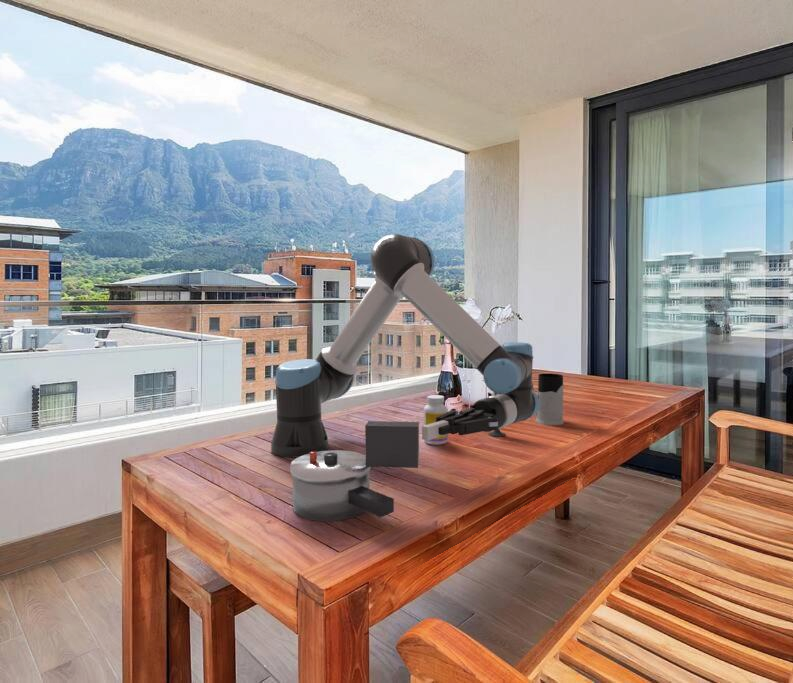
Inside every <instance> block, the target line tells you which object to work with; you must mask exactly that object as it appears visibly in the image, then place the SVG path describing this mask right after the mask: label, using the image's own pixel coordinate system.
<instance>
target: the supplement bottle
mask: <svg viewBox="0 0 793 683" xmlns="http://www.w3.org/2000/svg"><path fill="white" fill-rule="evenodd" d="M426 400H427V404H426V405H425V406H424V407H423V426H424V425H428V424H431V423H435V422H436V417H438V416H440V415H443V414H445V413H447V412H449V411H448V407H447V405H445V404H444V403H445V396H444V395H439V394H432V395H427V399H426ZM448 437H449V434H447V435H444V436H441V437H438V438H435V439H431V440H428V441H427V440H423V441H424V442H425V444H428V445H431V446H432V445H434V446H436V445H437V446H439V445H440V446H441V445H444V444H446V443H447V442H448V440H449V438H448Z"/></svg>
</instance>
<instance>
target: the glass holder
mask: <svg viewBox="0 0 793 683" xmlns="http://www.w3.org/2000/svg"><path fill="white" fill-rule="evenodd" d="M537 379H538V382H537V383H538V384H537V385H538V386H537V387H538V389H537V390H536V389H535V390H534V382H532V391H534V392H535V393H537V397H538V399H539V402H540V406H539V410H538V412H537V413H536V414H535V415H536V419H535V423H537V424H540V425H545V426H546V425H547V426H561V425H563V424H564V423H565V421H564V418H563V415H564V375H563V374H558V373H539V374H538V378H537Z"/></svg>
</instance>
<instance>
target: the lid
mask: <svg viewBox="0 0 793 683" xmlns="http://www.w3.org/2000/svg"><path fill="white" fill-rule="evenodd" d="M364 430H365V432H364V435H365V440H364V441H365V454H363V453H360V452H357V451H350V450H342V449H341V450H340V449H339V450H338V449H337V450H335V449H334V450H326V451H320V452H316V451H311V452H310V454H306V455H303V456H300V457H295V458H294V460H292V461H291V463H290V468H289V470H290V474H291V477H292V476H293V477H295V478H296V479H298V480H301V481H305V482H310V483H321V484H328V483H340V482H346V481H351V480H354V479H358V478H360V477H362V476H364V475H366V474H367V473H368V472H369V473H370V471H371V470H372V468H398V469H399V468H403V469H406V468H407V469H419V464H420V422H419V421H390V420H387V421H385V420H384V421H383V420H379V421H377V420H368V421H367V422H366V424H365V428H364Z"/></svg>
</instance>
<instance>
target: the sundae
mask: <svg viewBox="0 0 793 683" xmlns="http://www.w3.org/2000/svg"><path fill="white" fill-rule="evenodd" d="M499 394H500V393H495V392H493V391H492V393H491V392H487V398H489V397H491V396H495V395H499ZM488 435H489V436H490V437H493V438H494V437H495V438H501V437H502V438H503V437H505V436H506V433H505V432H502V431H501V429H497V430H493V431H490V432H488Z"/></svg>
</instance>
